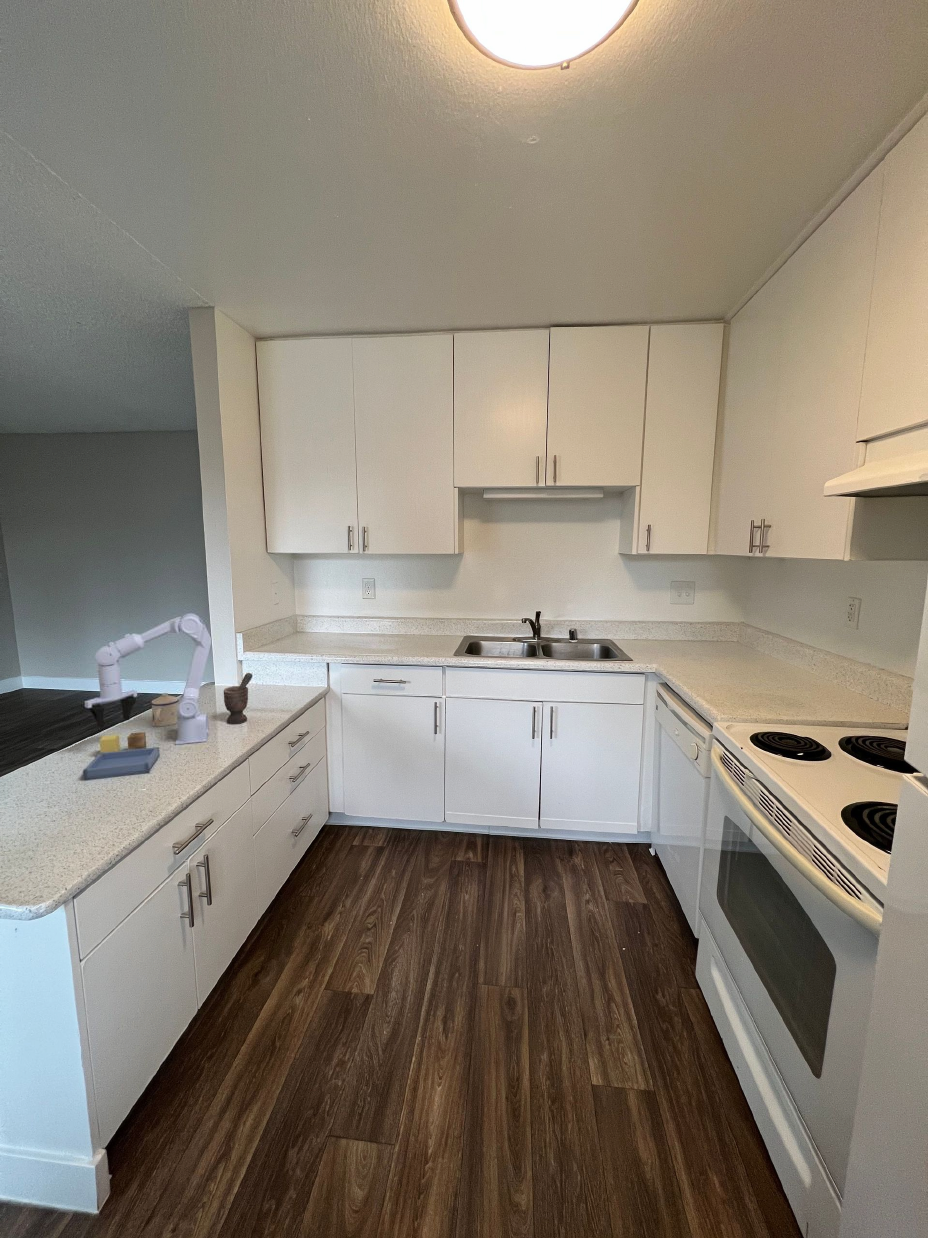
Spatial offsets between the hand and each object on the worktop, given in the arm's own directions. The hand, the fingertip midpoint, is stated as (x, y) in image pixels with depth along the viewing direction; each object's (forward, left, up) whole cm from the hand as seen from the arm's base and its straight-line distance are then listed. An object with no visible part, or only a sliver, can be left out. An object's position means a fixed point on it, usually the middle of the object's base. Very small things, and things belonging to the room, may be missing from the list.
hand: (114, 723), depth 158 cm
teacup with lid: (-9, -23, -10) cm, 27 cm away
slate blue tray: (-6, +16, -9) cm, 19 cm away
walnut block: (-7, +4, -9) cm, 12 cm away
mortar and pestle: (-36, -18, -10) cm, 42 cm away
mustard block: (0, +4, -9) cm, 10 cm away
